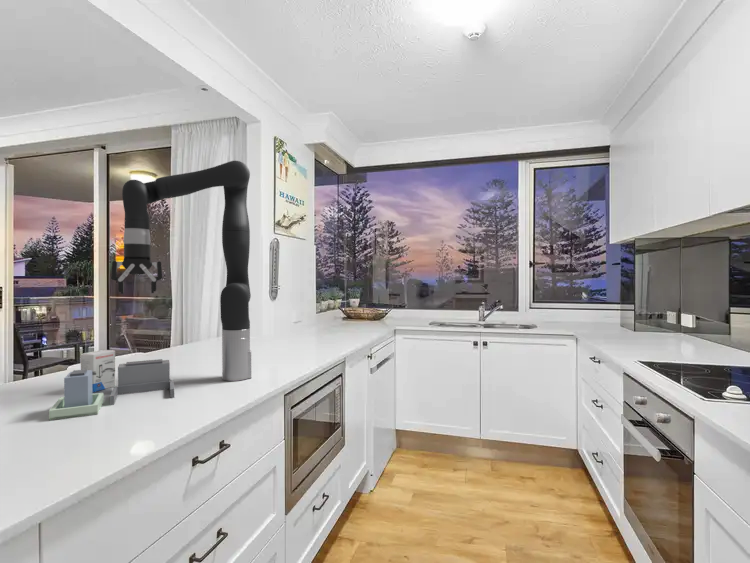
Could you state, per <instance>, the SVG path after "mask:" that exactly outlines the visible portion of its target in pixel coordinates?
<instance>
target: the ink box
mask: <svg viewBox="0 0 750 563" xmlns="http://www.w3.org/2000/svg"><path fill="white" fill-rule="evenodd" d="M85 369H87V370H92V393H97V392H99V391H100V392H101V391H103V390H107V389H110V388H114V387H116V350H112V349H111V350H110V349H100V350H95V351H90V352H88V351H87V352H84V353H82V354H80V370H85Z"/></svg>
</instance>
